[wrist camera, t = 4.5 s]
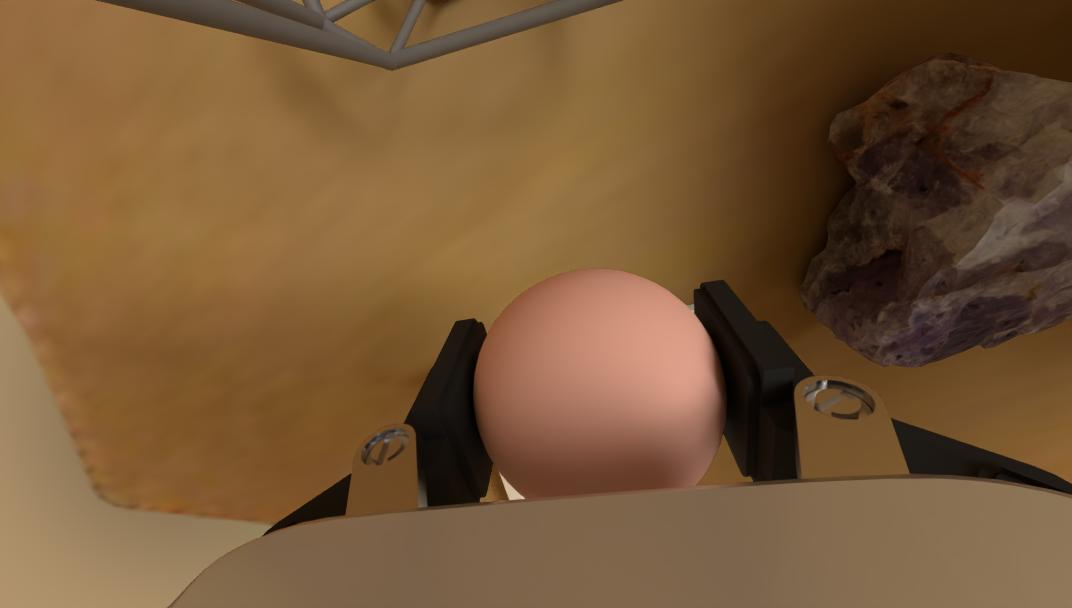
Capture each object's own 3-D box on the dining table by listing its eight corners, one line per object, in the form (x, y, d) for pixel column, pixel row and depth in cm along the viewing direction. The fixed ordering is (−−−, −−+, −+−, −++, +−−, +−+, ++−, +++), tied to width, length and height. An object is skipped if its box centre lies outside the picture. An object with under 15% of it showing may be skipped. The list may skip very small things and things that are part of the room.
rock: (751, 278, 24) (925, 291, 24) (824, 389, 17) (1071, 408, 17) (851, 44, 17) (1101, 57, 17) (1043, 72, 10) (1477, 94, 10)
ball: (682, 217, 11) (789, 336, 6) (691, 389, 14) (770, 580, 8) (472, 255, 12) (393, 387, 7) (519, 409, 15) (490, 591, 9)
